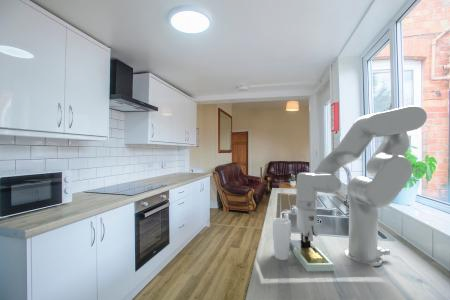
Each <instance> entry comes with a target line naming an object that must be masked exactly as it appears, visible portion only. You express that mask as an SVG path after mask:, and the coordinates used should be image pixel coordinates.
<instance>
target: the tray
mask: <svg viewBox="0 0 450 300" xmlns="http://www.w3.org/2000/svg"><path fill="white" fill-rule="evenodd" d="M315 253H318V254H319V255H320V256H321V257H322V263H308V262H307V261H306V259H305V258H304V257H303V256H302V254H301V253H300V252H299V250H298V249H297V248H294V251H293V254H294V256H295V257H296V259H297V260H298V261H299V263H300V265H301V266H302V267H303V269H305V271H306V272H334V271H335V264H334V262H332V261H331V259H330V258H328V257H327V256H326V255H325V253H323V252H322V250H321V249H319V247H316V246H315Z"/></svg>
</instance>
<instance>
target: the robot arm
mask: <svg viewBox="0 0 450 300" xmlns="http://www.w3.org/2000/svg"><path fill="white" fill-rule="evenodd" d="M427 120H428V115H427V112H426V110H425V108H423V107H421V106H418V105H407V106H403V107H399V108H394V109H391V110H386V111H381V112H375V113H371V114H366V115H363V116H360V117H358V118H357V119H356V120H355V122H353V124H352V126H351V127H350V129H348V131H347V133H345V135H344V137H343V138H342V139H341V141H340V142H339V144H338V145H337V146H336V147H335V148H334V149H332V151H330V153H329V154H328V155H326V156H325V157H324V159H322V161H321V162H320V163H319V164H318V166H317V168H316V169H315V170H314V172H299V173H297V175H296V191H295V192H296V195H295V196H296V197H295V198H296V199H295V200H296V203H295V207H296V209H297V211H296V228H297V230H298V231H299V232H300V240H301V248H310V243H312V242H314V237H318V236H319V235H318V234H319V233H318V232H319V231H318V230H319V228H318V225H319V224H318V214H317V208H318V206H317V204H318V201H317V200H318V193H323V194H335V193H338V192H339V191H340V190H341V187H342V180H341V179H340V178H339V177H338V176H337V174H336V173H337V172H338V171H339V170H340V169H342V167H344V166H346V165H348V164H351V163H353V162H355V161H357V160H358V159H359V158H360V157H361V156H362V154H363V153H364V152H365V151H366V149H367V147H368V146H369V144H370V143H371V142H372V141H373V139H374V138H380V137H381V138H382V137H383V138H382V141H381V142H380V144H379V146H378V147H377V149H376V150H375V152H374V153H373V154H372V156H371V157H370V158H369V159H368V161H367V162H366V166H365V169H366V172H367V173H368V174H369V175H370V176H371V177H373V178H371V177H368V176H355V177H353V178H351V180H350V181H349V182H348V184H347V198H348V208H349V210H348V213H349V214H348V248H347V249H345V250H344V254H345V256H347V258H350V259H352V260H353V261H357V262H358V263H362V264H369V265H370V266H372V267H378V266H382V264H383V258H382V256H390V254H391V251H390V250H389V249H383V248H382V247H380V246H379V247H378V241H379V240H378V239H379V235H378V234H379V210H378V209H382V208H386V207H388V206H389V205H391V204H392V203H393V202H394V201H395V199H396V198H397V197H398V195H399V194H400V193H401V191H402V190H403V189H404V187H405V186H406V184H407V183H408V182H409V180H410V178H411V177H412V173H413V165H412V162H411V161H410V160H409V158H407V157H405V155H406V153H407V152H408V150H409V149H410V148H409V147H410V138H409V135H408V133H407V132H411V131H415V130H418V129H419V128H422V127H423V126H424V124H425V123H426V122H427Z"/></svg>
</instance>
